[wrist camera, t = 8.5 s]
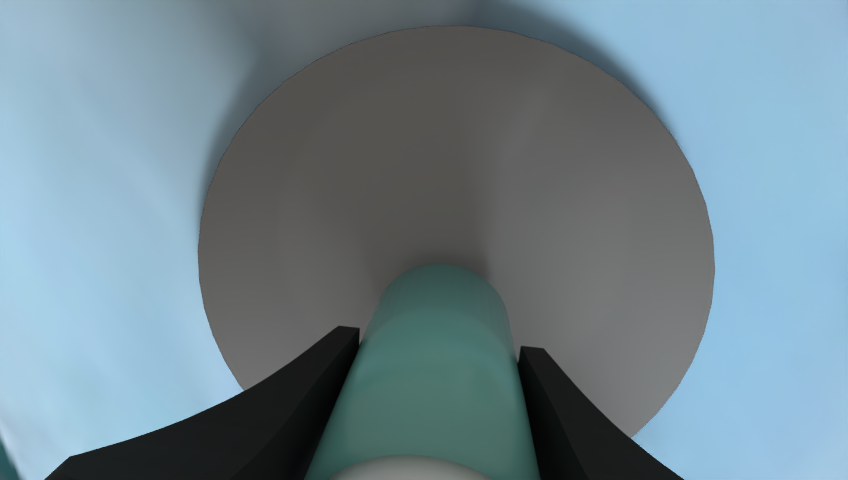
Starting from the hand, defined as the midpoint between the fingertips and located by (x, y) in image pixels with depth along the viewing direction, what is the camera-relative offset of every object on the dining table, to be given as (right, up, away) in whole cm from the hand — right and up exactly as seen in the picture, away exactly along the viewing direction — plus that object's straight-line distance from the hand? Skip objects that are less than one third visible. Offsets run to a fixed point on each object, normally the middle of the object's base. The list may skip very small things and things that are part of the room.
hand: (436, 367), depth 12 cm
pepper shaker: (0, +1, +2) cm, 2 cm away
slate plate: (0, +1, +4) cm, 5 cm away
